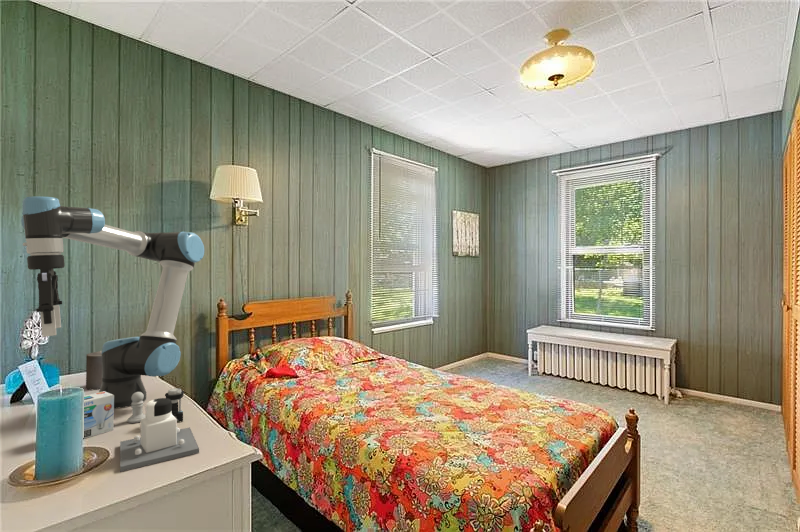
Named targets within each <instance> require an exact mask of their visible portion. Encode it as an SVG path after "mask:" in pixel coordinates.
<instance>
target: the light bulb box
mask: <svg viewBox="0 0 800 532" xmlns="http://www.w3.org/2000/svg"><path fill="white" fill-rule="evenodd" d="M83 396H84V439H88V438H91V437H94V436H99V435H101V434H104V433H108V432H112V431H114V427H115V426H114V424H115V423H114V420H115V419H114V415H115V409H114V395H113V394H110V393H108V392H105V391H103V392H99V391H98V392H95V393H90V394H86V395H83ZM84 439H83V440H84Z"/></svg>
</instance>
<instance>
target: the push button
mask: <svg viewBox="0 0 800 532" xmlns="http://www.w3.org/2000/svg"><path fill="white" fill-rule="evenodd" d="M184 394H185V391H184V390H182V389H181V388H178V387H177V388H171V389H168V391H167V392H166V393H165V394H164V397H165V398H167V399H170V400H171V401H172V415H173V416H174V417H175V418H176V419H177V421H182V422H183V421H184V411H183V409H182V399H183V398H184Z"/></svg>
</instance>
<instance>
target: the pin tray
mask: <svg viewBox="0 0 800 532" xmlns="http://www.w3.org/2000/svg"><path fill="white" fill-rule="evenodd" d="M119 443H120V444H119V448H120V449H119V450H120V451H119V453H120V454H119V456H120V458H119V462H120V463H119V464H120V466H119V469H120V470H119V472H120V473H122V472H125V471H129V470H133V469H138V468H142V467H147V466H150V465H154V464H159V463H163V462H167V461H171V460H176V459H178V458H179V459H180V458H184V457H188V456H193V455H196V454H199V453H200V447H199V444H198V442H197V441H196V438H195V436H194V434H193V432H192V429H191V427H185V428H180V427H178V426H177V445H175V446H171V447H167V448H164V449H160V450H156V451H153V452H149V453H146V452H145V450H144V449H143V447H142V445H141V435H138V434H137V435H134V437H133V438H131V439H128V440H127V439H126V440H123V441H121V440H120V442H119Z"/></svg>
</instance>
